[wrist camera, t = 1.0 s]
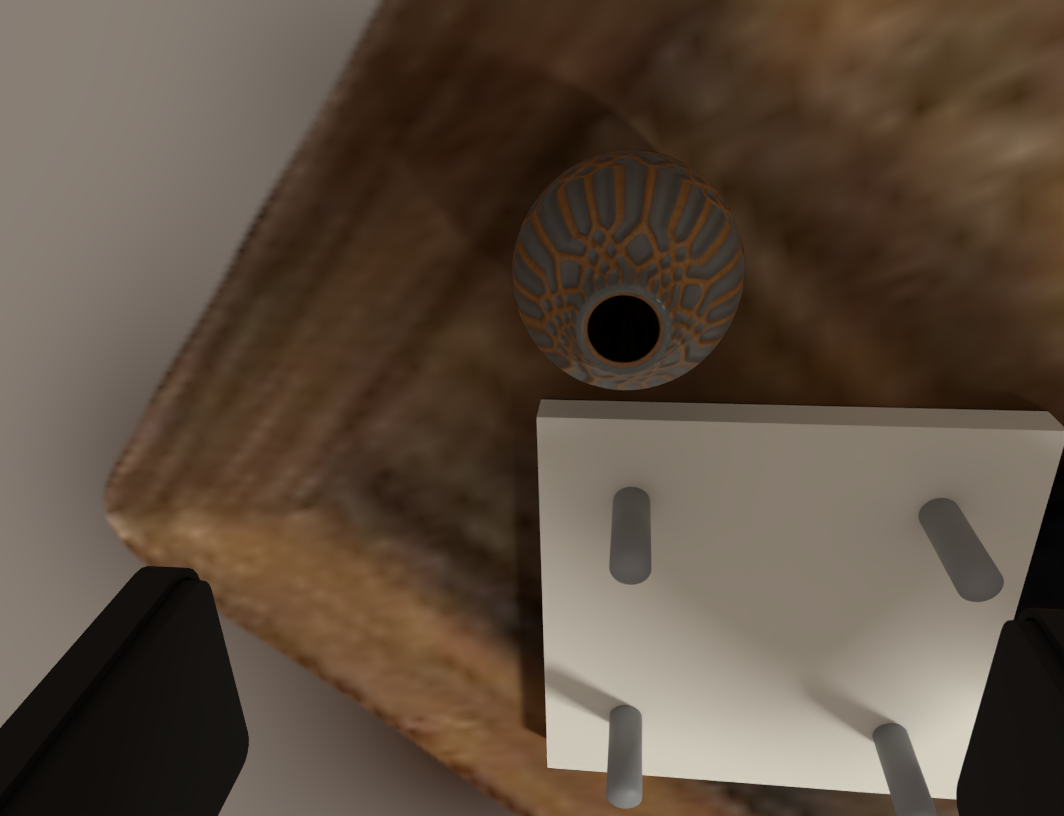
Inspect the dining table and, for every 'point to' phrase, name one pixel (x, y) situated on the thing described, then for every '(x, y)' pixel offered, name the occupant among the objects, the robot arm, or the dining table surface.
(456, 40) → the dining table surface
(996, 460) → the stand
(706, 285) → the vase
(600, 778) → the dining table surface
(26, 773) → the robot arm
